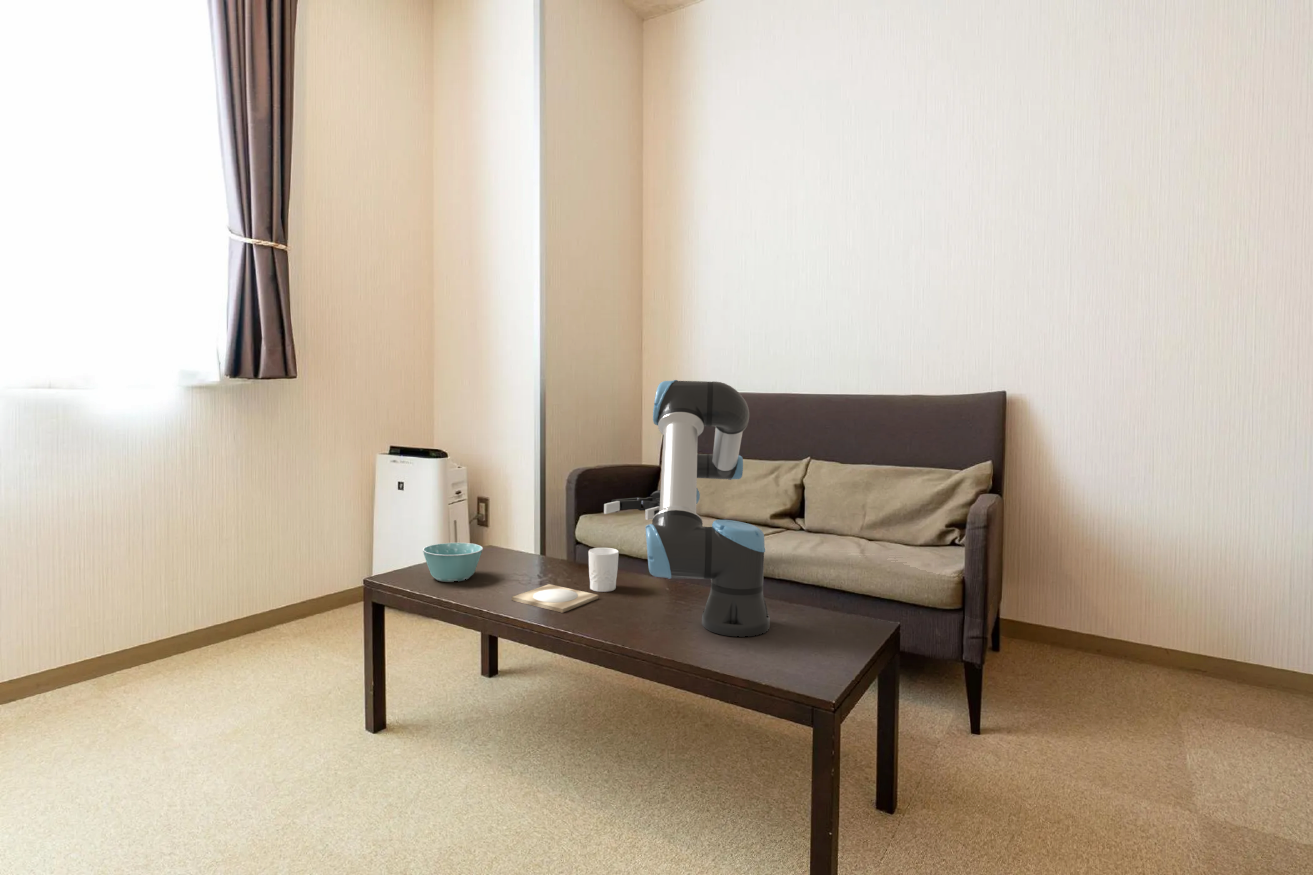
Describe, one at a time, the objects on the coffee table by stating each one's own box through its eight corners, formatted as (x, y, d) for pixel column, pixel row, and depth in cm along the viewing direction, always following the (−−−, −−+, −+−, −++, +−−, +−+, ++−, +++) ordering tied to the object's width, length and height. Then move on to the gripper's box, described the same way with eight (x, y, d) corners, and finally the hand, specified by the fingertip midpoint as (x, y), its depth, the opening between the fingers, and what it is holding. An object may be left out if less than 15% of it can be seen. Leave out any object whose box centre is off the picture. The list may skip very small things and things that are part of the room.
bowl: (450, 567, 204) (450, 539, 203) (494, 575, 197) (494, 545, 196) (409, 580, 190) (409, 549, 189) (455, 589, 183) (455, 557, 182)
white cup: (619, 585, 190) (620, 548, 190) (615, 593, 182) (616, 555, 182) (590, 583, 191) (591, 546, 190) (585, 591, 183) (585, 553, 183)
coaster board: (598, 598, 178) (598, 594, 178) (562, 612, 166) (562, 608, 166) (549, 587, 186) (549, 583, 186) (511, 600, 174) (511, 596, 174)
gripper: (702, 519, 206) (664, 531, 188) (630, 509, 219) (588, 519, 201) (703, 493, 205) (664, 503, 187) (631, 485, 218) (589, 493, 200)
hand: (625, 511), depth 194 cm, fingers open, 13 cm apart
